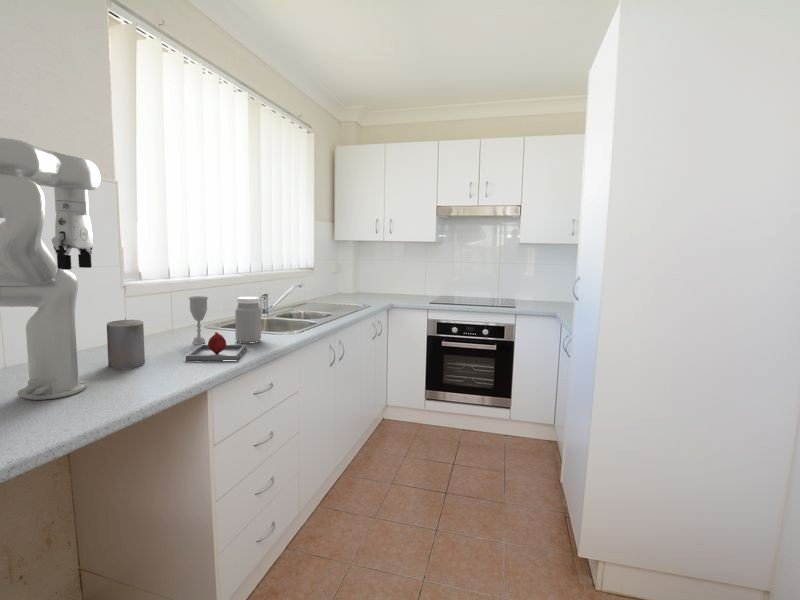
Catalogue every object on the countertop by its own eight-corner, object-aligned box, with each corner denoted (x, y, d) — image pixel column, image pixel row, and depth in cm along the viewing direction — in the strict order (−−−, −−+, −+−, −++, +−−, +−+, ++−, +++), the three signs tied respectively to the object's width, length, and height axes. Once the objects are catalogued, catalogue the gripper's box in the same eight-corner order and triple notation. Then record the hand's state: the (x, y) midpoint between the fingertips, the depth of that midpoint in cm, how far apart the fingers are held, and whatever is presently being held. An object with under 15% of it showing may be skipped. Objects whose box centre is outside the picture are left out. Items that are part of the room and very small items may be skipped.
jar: (261, 343, 165) (261, 299, 163) (235, 344, 162) (235, 299, 159) (260, 338, 174) (260, 296, 172) (235, 339, 170) (235, 296, 168)
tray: (236, 361, 139) (236, 355, 139) (185, 361, 136) (185, 355, 136) (246, 349, 154) (246, 344, 154) (201, 349, 152) (201, 344, 152)
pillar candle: (111, 362, 132) (109, 316, 130) (146, 359, 136) (145, 315, 134) (105, 371, 123) (102, 322, 121) (143, 368, 128) (141, 320, 126)
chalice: (184, 343, 160) (183, 297, 158) (198, 339, 166) (197, 295, 164) (200, 345, 158) (199, 299, 155) (213, 341, 164) (212, 297, 162)
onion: (229, 352, 147) (229, 330, 146) (220, 356, 142) (220, 333, 141) (213, 351, 148) (213, 329, 147) (204, 355, 142) (204, 332, 141)
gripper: (67, 206, 110) (71, 270, 112) (103, 212, 127) (105, 267, 129) (36, 205, 109) (40, 269, 111) (76, 210, 126) (79, 266, 128)
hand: (75, 268), depth 120 cm, fingers open, 9 cm apart
